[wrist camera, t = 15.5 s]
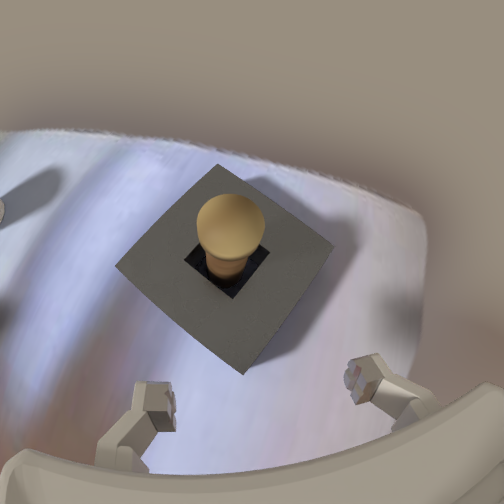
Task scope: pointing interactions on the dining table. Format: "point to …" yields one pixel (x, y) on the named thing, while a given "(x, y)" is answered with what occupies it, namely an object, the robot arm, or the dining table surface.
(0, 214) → the white cup
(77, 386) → the dining table surface
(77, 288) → the dining table surface
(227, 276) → the brass pin
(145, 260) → the hitch block
